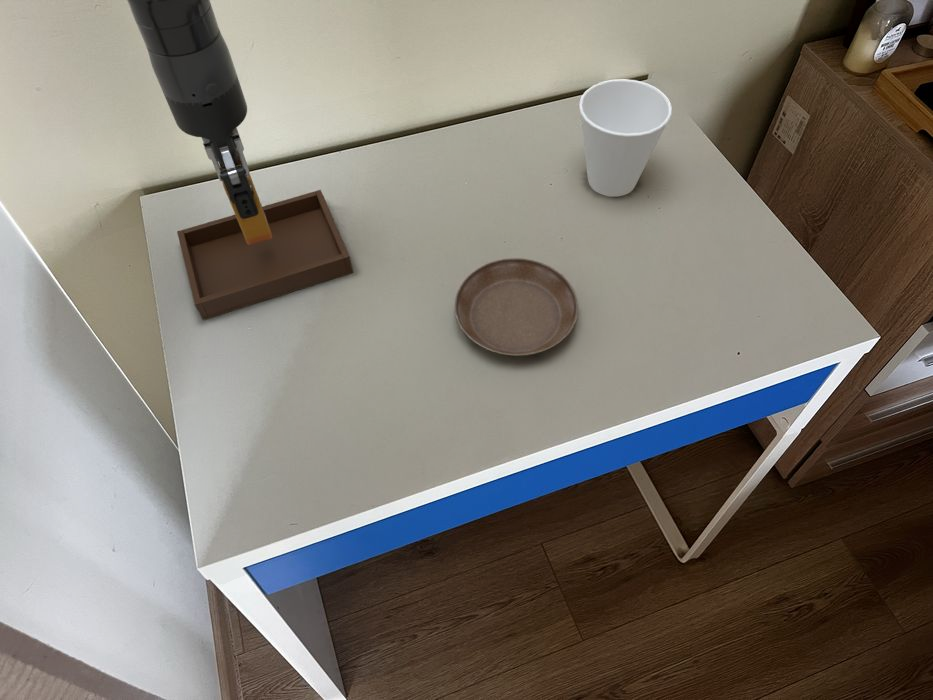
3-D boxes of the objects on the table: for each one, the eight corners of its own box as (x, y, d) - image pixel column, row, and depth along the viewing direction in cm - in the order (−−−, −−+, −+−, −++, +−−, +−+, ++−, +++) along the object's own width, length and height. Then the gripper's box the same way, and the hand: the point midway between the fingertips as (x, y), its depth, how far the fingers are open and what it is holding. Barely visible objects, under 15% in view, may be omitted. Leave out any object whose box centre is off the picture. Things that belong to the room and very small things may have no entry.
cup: (651, 154, 103) (669, 79, 93) (656, 211, 96) (675, 136, 86) (570, 151, 104) (579, 76, 94) (569, 207, 97) (578, 133, 87)
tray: (203, 320, 88) (194, 304, 85) (185, 247, 95) (176, 231, 92) (353, 272, 92) (349, 256, 89) (324, 206, 99) (320, 189, 96)
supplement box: (268, 221, 91) (247, 160, 82) (273, 239, 89) (252, 180, 81) (242, 227, 90) (218, 167, 82) (247, 246, 88) (222, 187, 80)
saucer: (532, 388, 80) (533, 375, 78) (431, 328, 86) (429, 314, 84) (598, 306, 87) (601, 292, 85) (501, 255, 93) (501, 241, 90)
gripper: (151, 50, 74) (204, 177, 88) (171, 127, 67) (227, 253, 81) (221, 34, 76) (263, 161, 90) (249, 107, 68) (290, 234, 82)
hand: (246, 204), depth 85 cm, fingers closed on supplement box, 3 cm apart
